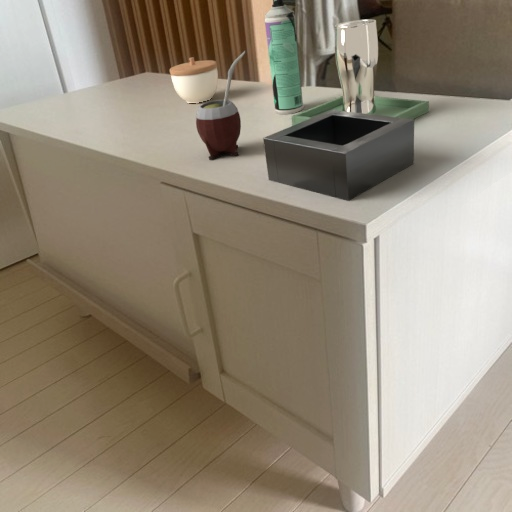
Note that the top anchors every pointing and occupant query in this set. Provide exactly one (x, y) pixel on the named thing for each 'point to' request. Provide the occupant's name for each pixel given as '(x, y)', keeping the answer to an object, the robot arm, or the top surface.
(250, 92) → the top surface
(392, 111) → the tray
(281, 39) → the spray can
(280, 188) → the top surface
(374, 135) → the basin
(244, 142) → the top surface
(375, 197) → the top surface
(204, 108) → the mate gourd
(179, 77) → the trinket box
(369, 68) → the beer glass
